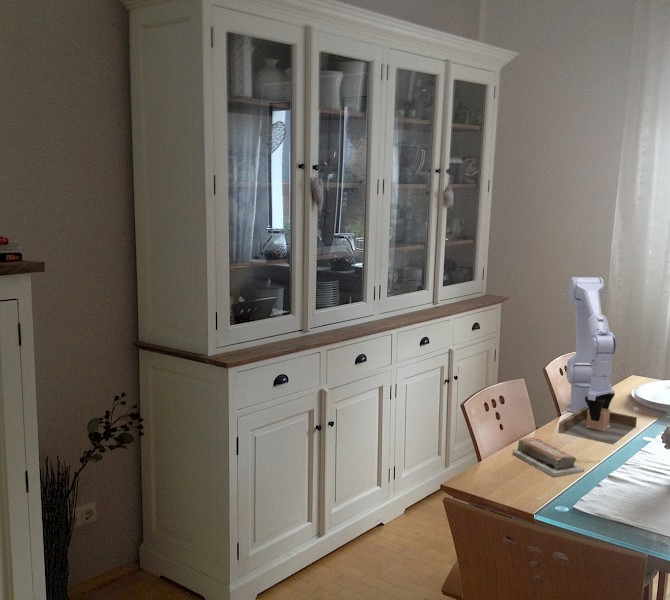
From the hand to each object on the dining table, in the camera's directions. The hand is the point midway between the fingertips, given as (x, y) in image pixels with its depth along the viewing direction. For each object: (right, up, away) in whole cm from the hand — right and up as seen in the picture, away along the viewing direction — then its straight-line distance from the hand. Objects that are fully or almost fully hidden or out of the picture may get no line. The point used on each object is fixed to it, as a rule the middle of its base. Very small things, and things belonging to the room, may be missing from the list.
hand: (598, 418), depth 221 cm
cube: (0, -2, 0) cm, 3 cm away
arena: (-1, -4, -2) cm, 5 cm away
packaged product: (-23, -8, -25) cm, 35 cm away
